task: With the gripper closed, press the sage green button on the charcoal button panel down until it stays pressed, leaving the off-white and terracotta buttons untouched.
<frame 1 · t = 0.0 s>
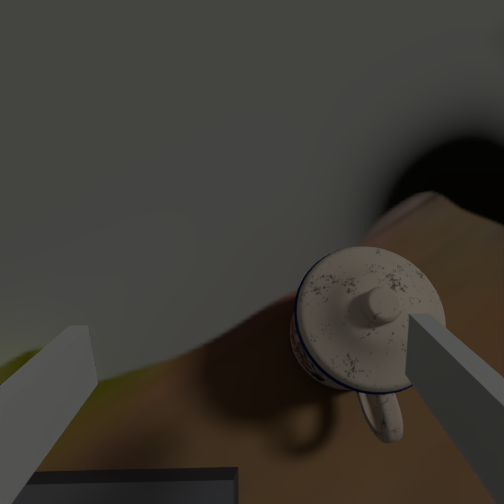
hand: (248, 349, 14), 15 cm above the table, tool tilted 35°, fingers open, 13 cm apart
teacup with lid: (344, 352, 29), on the table
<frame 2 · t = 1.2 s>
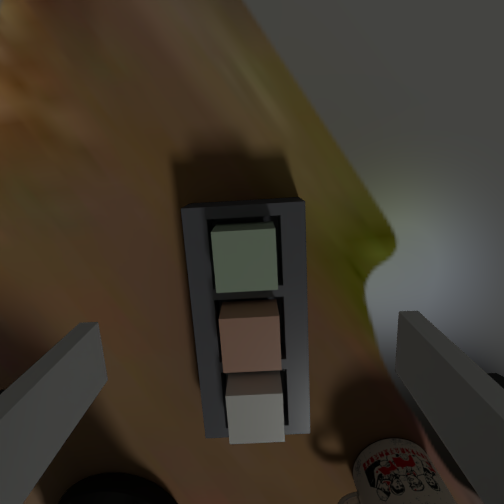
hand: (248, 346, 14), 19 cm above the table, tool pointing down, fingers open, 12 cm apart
terracotta button: (250, 334, 30), point 5 cm above the table, slide at 0.0 cm
teacup with lid: (376, 469, 39), on the table
button panel: (251, 311, 34), on the table
white button: (255, 405, 31), point 5 cm above the table, slide at 0.0 cm
green button: (245, 255, 28), point 5 cm above the table, slide at 0.0 cm
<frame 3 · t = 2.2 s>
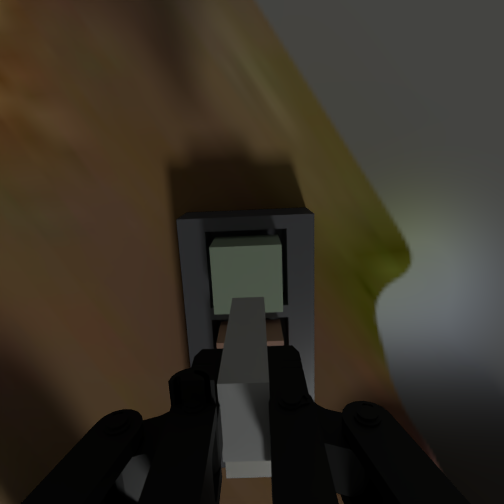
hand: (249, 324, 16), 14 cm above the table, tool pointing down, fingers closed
terracotta button: (251, 358, 27), point 5 cm above the table, slide at 0.0 cm
button panel: (251, 330, 32), on the table
white button: (255, 434, 29), point 5 cm above the table, slide at 0.0 cm
green button: (247, 272, 25), point 5 cm above the table, slide at 0.0 cm
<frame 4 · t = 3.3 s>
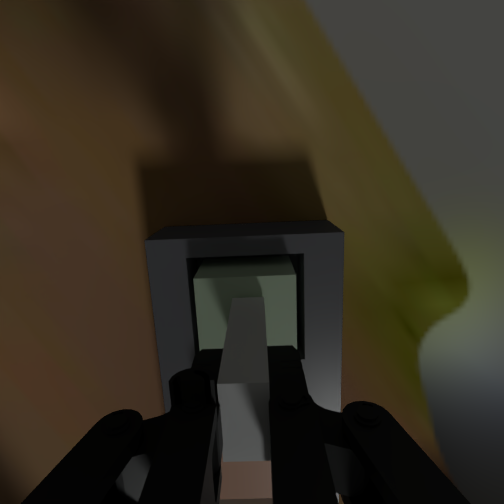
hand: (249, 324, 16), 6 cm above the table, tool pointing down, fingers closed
terracotta button: (253, 433, 19), point 5 cm above the table, slide at 0.0 cm
button panel: (253, 381, 24), on the table
green button: (247, 309, 18), point 4 cm above the table, slide at 1.0 cm, touching gripper
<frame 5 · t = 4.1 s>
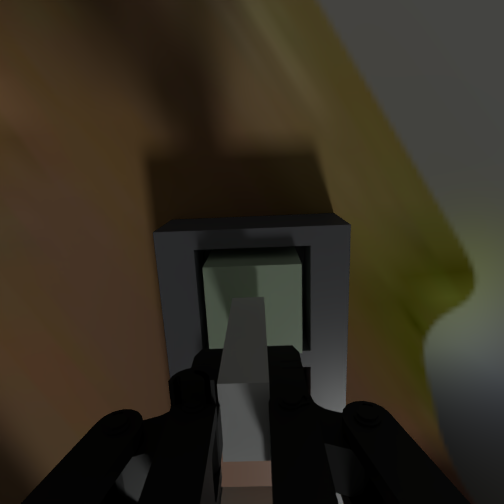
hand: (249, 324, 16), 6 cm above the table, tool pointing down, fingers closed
terracotta button: (259, 423, 19), point 5 cm above the table, slide at 0.0 cm
button panel: (259, 372, 24), on the table
green button: (254, 297, 19), point 3 cm above the table, slide at 1.4 cm
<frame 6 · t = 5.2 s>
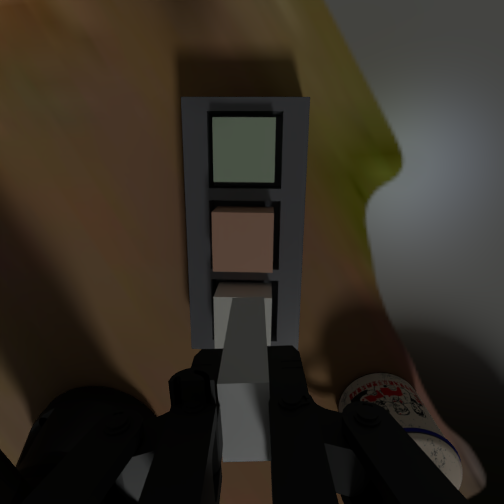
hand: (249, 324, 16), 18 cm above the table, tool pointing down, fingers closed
terracotta button: (244, 237, 29), point 5 cm above the table, slide at 0.0 cm
teacup with lid: (363, 405, 38), on the table
button panel: (247, 226, 33), on the table
white button: (243, 314, 31), point 5 cm above the table, slide at 0.0 cm
green button: (245, 150, 28), point 3 cm above the table, slide at 1.4 cm
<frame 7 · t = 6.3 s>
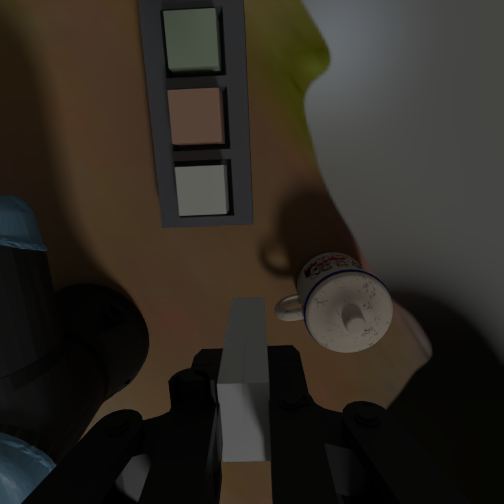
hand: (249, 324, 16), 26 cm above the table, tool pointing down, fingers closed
terracotta button: (198, 118, 34), point 5 cm above the table, slide at 0.0 cm
teacup with lid: (319, 285, 44), on the table
button panel: (205, 124, 39), on the table
white button: (203, 189, 36), point 5 cm above the table, slide at 0.0 cm
green button: (194, 45, 34), point 3 cm above the table, slide at 1.4 cm
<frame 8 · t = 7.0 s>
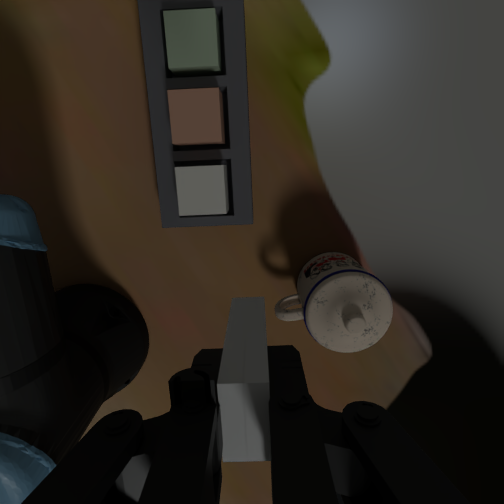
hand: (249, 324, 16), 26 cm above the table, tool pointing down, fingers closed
terracotta button: (198, 118, 34), point 5 cm above the table, slide at 0.0 cm
teacup with lid: (319, 285, 44), on the table
button panel: (205, 124, 39), on the table
white button: (203, 189, 36), point 5 cm above the table, slide at 0.0 cm
green button: (194, 45, 34), point 3 cm above the table, slide at 1.4 cm
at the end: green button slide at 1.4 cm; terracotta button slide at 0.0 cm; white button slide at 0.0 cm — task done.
